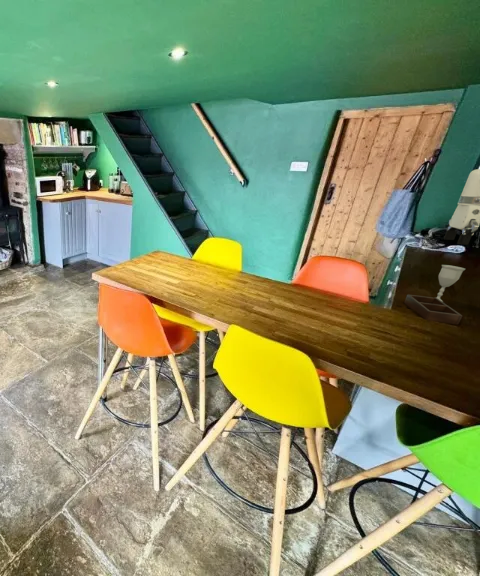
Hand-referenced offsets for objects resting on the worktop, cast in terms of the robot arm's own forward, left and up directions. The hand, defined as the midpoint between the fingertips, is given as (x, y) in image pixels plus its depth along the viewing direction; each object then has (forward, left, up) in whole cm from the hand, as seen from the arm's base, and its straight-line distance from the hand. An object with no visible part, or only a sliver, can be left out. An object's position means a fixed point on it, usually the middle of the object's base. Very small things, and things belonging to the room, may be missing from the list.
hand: (455, 241), depth 130 cm
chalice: (-3, -1, -30) cm, 30 cm away
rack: (+5, +15, -30) cm, 34 cm away
